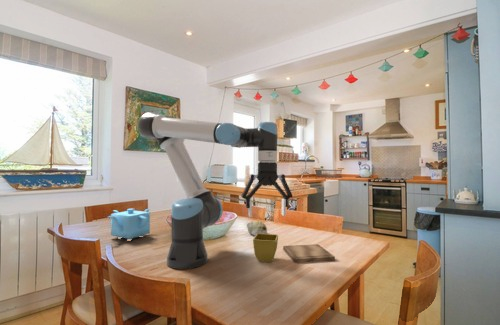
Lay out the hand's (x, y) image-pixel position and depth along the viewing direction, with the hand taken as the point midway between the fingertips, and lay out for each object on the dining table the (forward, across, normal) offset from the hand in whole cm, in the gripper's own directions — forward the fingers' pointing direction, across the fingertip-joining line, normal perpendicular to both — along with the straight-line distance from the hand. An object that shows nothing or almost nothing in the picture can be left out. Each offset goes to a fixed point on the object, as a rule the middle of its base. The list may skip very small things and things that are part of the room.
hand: (267, 216), depth 105 cm
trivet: (+16, +18, +1) cm, 24 cm away
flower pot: (+17, -1, -1) cm, 17 cm away
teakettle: (+18, -60, +44) cm, 77 cm away
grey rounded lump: (+17, +4, +35) cm, 40 cm away
